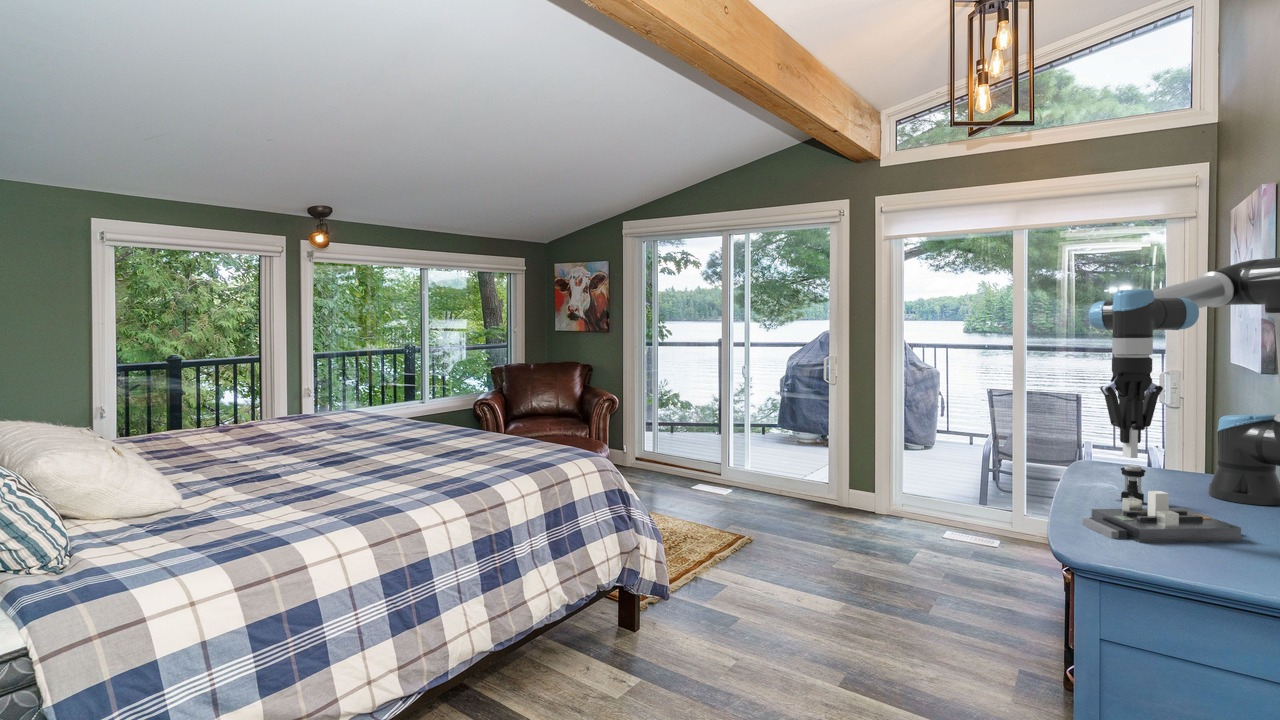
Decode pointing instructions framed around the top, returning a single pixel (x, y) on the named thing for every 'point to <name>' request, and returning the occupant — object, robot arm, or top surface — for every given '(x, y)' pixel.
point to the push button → (1132, 482)
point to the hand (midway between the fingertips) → (1130, 456)
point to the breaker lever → (1157, 502)
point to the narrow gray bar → (1105, 528)
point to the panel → (1172, 532)
